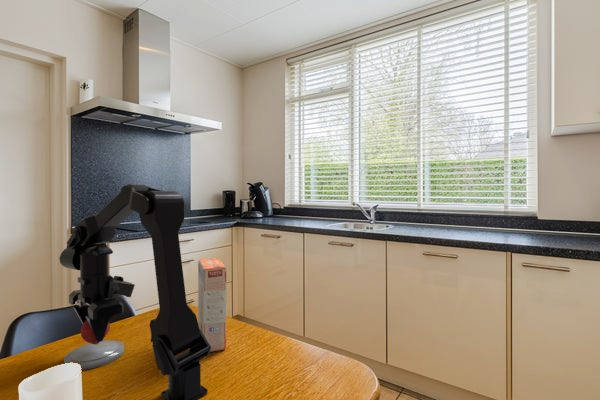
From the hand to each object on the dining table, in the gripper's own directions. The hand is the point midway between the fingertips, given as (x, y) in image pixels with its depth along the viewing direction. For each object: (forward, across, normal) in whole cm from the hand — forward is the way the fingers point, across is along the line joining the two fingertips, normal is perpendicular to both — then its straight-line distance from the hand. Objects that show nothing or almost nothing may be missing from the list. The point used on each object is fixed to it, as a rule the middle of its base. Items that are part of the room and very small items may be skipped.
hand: (95, 337), depth 76 cm
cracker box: (+5, -14, -23) cm, 27 cm away
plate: (+5, 0, 0) cm, 5 cm away
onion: (+2, 0, 0) cm, 2 cm away
